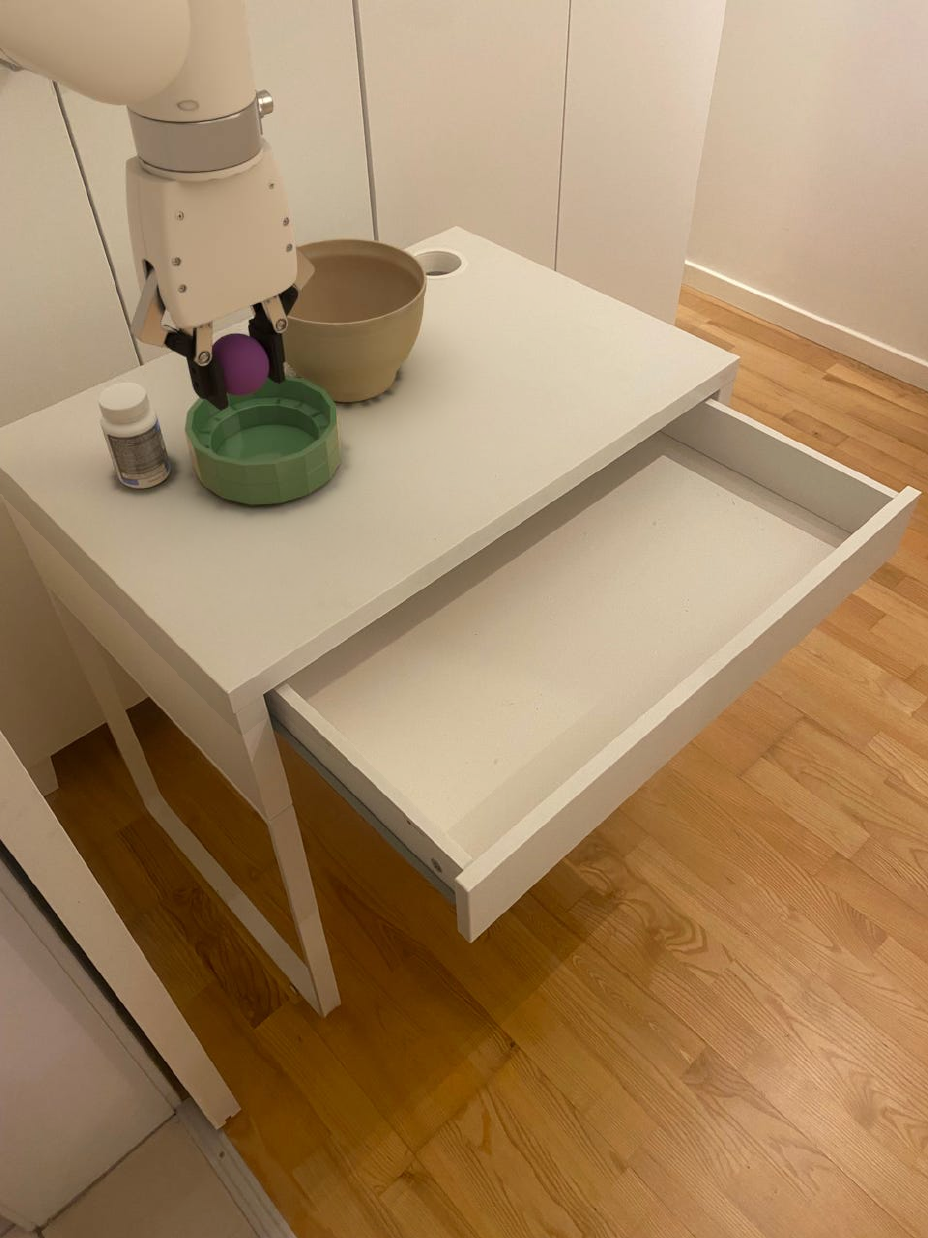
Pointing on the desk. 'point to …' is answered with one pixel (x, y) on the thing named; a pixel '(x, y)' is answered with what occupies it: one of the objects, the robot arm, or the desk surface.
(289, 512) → the desk surface
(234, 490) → the bowl
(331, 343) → the planter bowl
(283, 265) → the robot arm
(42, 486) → the desk surface
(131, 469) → the pill bottle
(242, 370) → the ball
